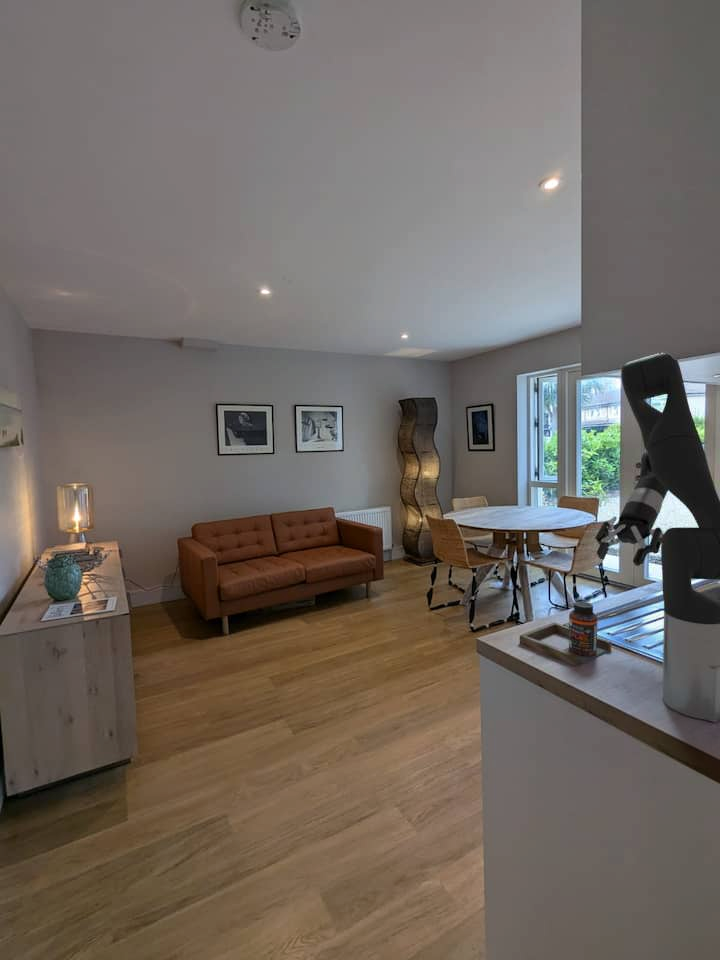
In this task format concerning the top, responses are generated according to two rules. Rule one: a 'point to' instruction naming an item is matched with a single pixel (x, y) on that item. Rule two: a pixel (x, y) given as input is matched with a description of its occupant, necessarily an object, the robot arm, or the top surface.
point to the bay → (567, 657)
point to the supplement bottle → (583, 629)
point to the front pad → (586, 658)
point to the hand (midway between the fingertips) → (617, 560)
